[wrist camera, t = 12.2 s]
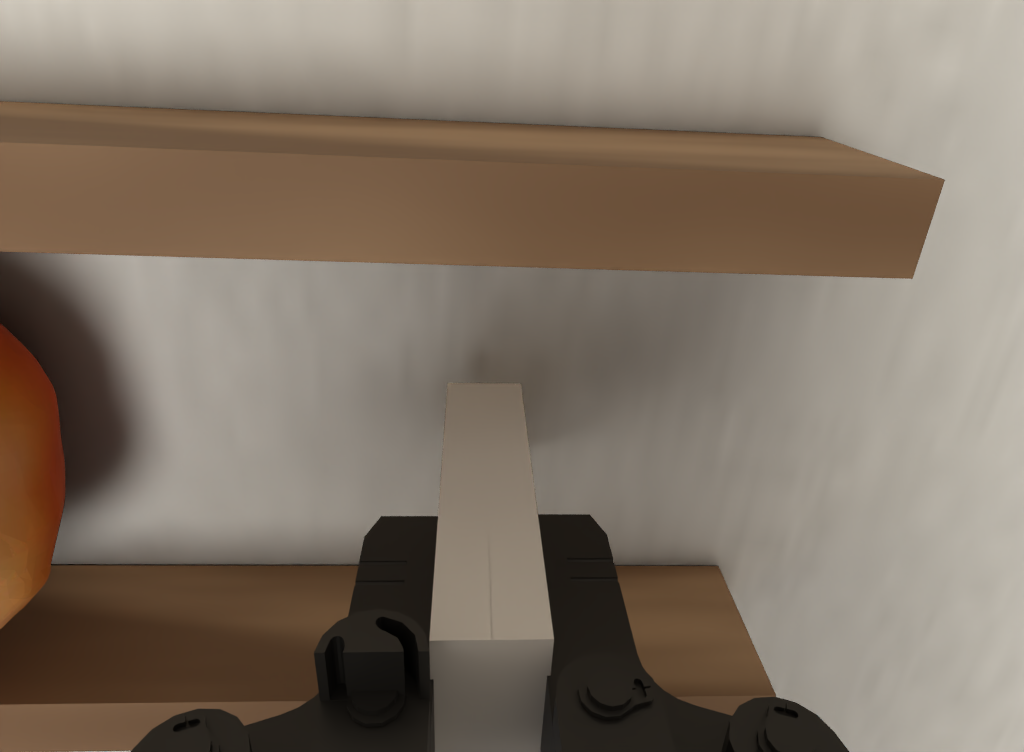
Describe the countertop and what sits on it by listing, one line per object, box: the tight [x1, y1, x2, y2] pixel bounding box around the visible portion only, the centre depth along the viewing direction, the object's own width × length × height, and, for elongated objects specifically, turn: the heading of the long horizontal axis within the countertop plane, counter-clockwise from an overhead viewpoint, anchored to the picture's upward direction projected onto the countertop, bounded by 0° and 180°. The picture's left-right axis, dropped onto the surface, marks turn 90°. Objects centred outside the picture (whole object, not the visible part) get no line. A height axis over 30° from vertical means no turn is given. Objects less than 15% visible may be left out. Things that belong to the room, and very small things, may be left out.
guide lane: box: [0, 101, 945, 752], centre depth 13 cm, size 12×26×6 cm, turn 87°
